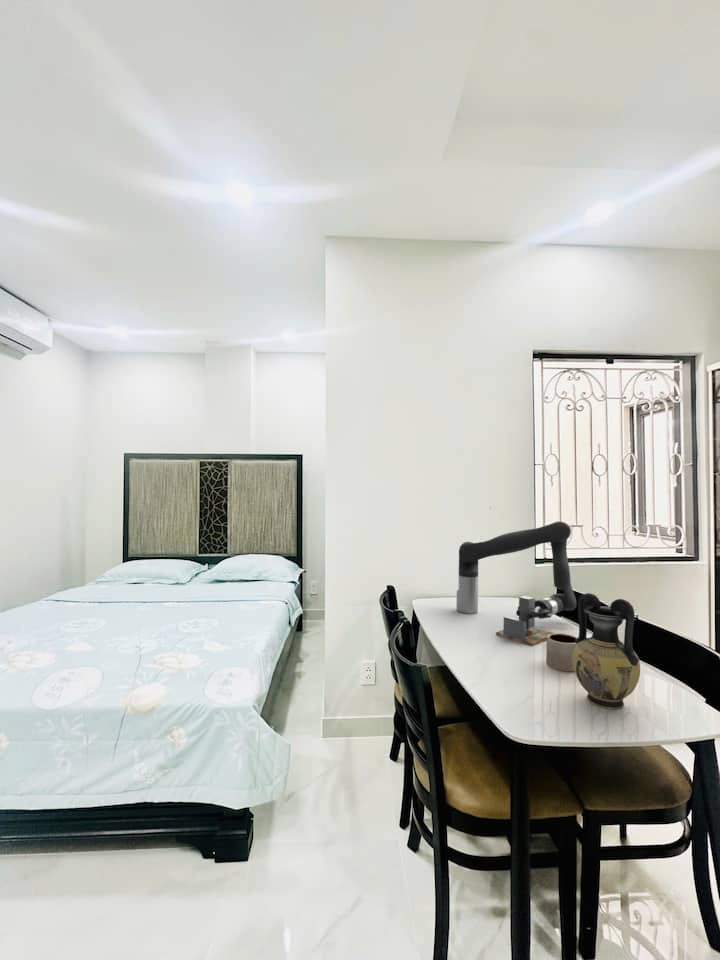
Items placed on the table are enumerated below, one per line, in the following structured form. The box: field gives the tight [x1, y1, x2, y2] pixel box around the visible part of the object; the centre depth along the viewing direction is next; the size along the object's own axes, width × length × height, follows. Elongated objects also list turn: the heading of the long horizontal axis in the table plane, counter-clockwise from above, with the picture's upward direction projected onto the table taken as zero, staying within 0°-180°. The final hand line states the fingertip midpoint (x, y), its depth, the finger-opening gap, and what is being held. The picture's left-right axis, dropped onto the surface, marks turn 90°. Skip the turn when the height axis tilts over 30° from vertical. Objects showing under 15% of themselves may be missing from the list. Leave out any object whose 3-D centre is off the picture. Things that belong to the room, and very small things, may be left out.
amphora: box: [572, 592, 641, 710], centre depth 131 cm, size 18×17×30 cm
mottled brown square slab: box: [495, 628, 554, 647], centre depth 188 cm, size 16×18×1 cm
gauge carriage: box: [518, 595, 538, 635], centre depth 186 cm, size 7×11×14 cm, turn 130°
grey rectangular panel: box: [503, 615, 526, 640], centre depth 183 cm, size 9×1×7 cm, turn 40°
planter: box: [545, 632, 578, 673], centre depth 157 cm, size 11×11×10 cm
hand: (523, 614), depth 187 cm, fingers closed on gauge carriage, 4 cm apart
